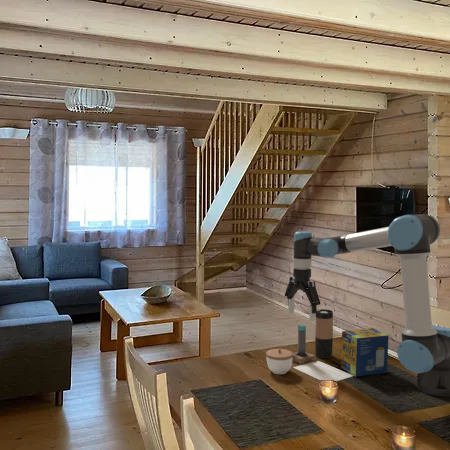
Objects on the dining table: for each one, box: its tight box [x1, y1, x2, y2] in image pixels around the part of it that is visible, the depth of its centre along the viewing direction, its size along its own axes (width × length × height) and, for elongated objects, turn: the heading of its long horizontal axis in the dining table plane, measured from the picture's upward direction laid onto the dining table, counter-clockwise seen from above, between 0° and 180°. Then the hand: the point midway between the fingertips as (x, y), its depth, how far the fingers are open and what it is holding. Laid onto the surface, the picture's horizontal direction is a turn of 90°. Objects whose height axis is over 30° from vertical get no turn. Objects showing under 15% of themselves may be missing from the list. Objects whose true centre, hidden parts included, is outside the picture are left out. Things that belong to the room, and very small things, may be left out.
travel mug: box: [314, 308, 334, 359], centre depth 216 cm, size 8×8×20 cm
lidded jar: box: [265, 348, 294, 375], centre depth 198 cm, size 11×11×9 cm
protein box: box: [340, 328, 389, 377], centre depth 198 cm, size 10×15×16 cm
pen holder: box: [292, 351, 316, 366], centre depth 211 cm, size 8×8×2 cm
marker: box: [297, 324, 307, 357], centre depth 210 cm, size 3×3×15 cm
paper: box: [293, 360, 354, 383], centre depth 197 cm, size 20×14×1 cm
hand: (301, 317), depth 210 cm, fingers open, 13 cm apart
